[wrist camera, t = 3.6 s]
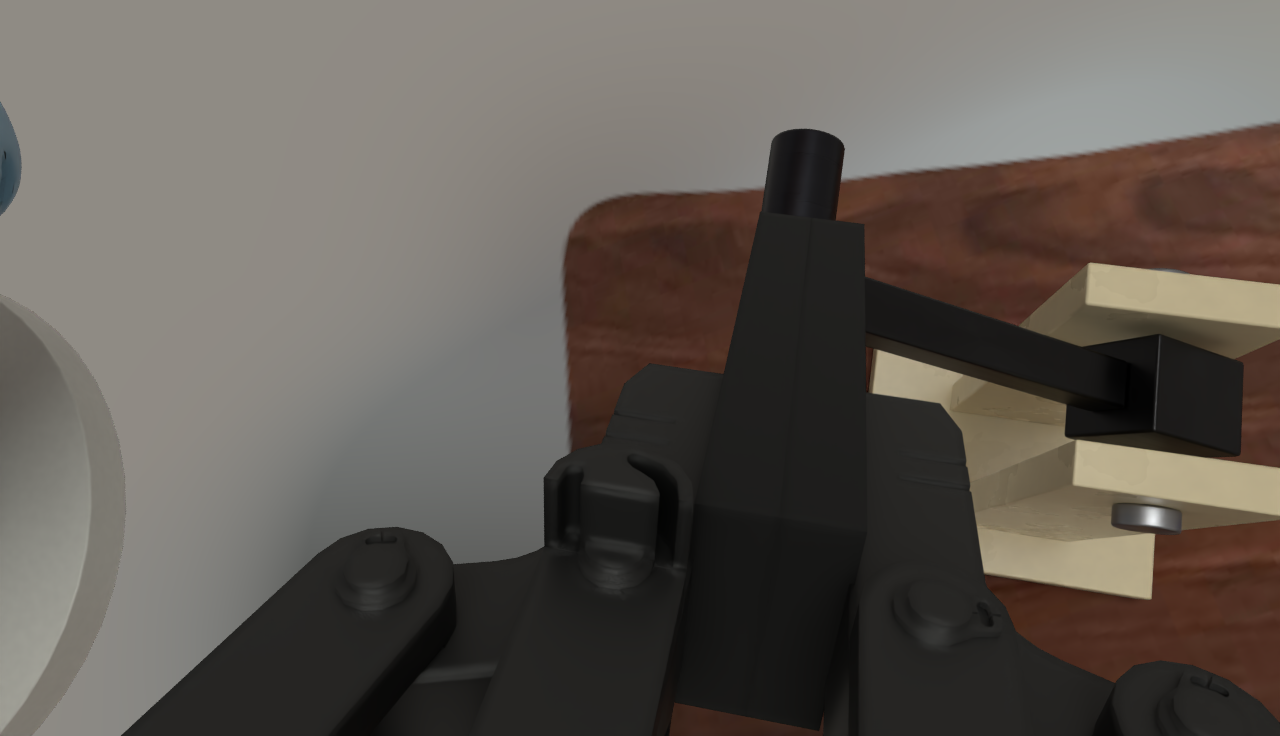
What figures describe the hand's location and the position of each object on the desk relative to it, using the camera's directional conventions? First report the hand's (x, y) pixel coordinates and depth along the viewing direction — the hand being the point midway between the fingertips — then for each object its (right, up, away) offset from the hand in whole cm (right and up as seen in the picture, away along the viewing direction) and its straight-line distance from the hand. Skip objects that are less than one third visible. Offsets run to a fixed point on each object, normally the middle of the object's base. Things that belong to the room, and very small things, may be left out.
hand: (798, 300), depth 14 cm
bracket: (+11, -5, +20) cm, 23 cm away
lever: (+5, -1, +7) cm, 8 cm away
